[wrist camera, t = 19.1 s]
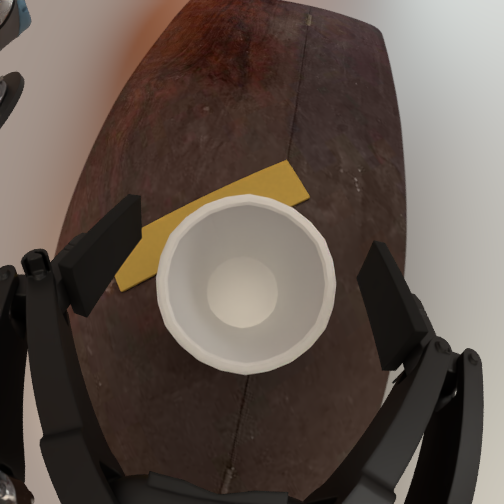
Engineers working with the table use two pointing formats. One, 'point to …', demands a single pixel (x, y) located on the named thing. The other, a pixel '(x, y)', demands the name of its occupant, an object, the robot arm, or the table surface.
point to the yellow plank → (157, 233)
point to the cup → (246, 284)
